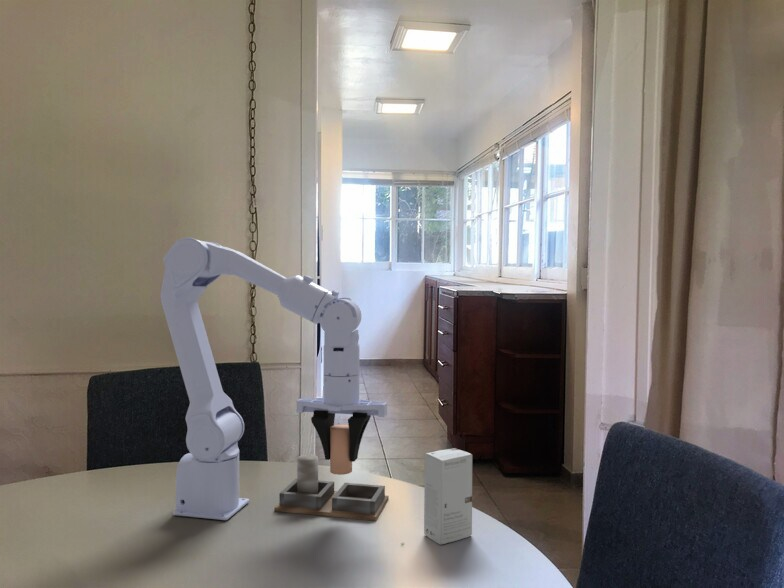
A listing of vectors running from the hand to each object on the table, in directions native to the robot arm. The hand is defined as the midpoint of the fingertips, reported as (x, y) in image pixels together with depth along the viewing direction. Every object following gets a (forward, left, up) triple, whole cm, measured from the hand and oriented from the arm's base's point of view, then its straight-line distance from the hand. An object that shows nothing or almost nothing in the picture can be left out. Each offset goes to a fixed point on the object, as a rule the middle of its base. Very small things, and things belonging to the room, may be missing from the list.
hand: (341, 458), depth 89 cm
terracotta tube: (0, 0, -2) cm, 2 cm away
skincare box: (+18, -4, -9) cm, 20 cm away
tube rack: (-2, +3, -9) cm, 10 cm away
